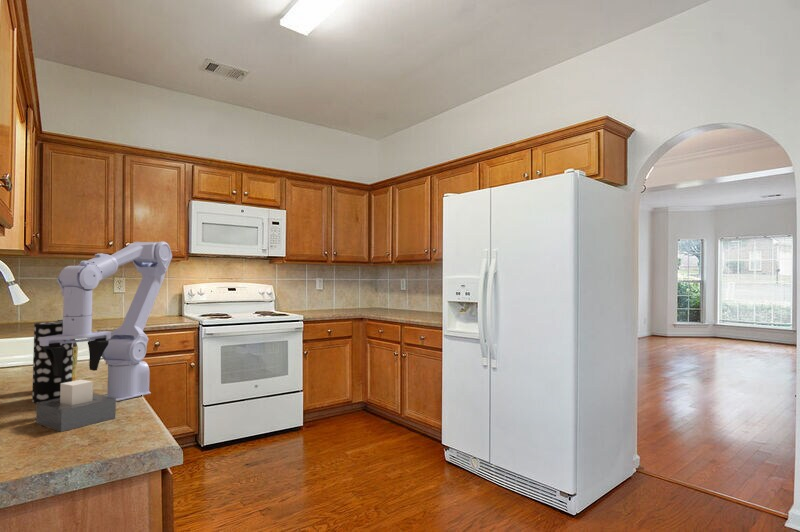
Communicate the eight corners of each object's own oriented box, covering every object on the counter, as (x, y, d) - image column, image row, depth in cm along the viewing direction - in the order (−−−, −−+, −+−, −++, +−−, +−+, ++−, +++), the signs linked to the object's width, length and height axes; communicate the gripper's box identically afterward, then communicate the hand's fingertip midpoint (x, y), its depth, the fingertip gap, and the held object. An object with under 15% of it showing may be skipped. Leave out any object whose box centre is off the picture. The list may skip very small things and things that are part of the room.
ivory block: (80, 414, 107) (81, 379, 107) (92, 416, 105) (93, 381, 105) (59, 419, 103) (60, 383, 103) (71, 422, 101) (72, 385, 101)
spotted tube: (66, 393, 127) (68, 320, 128) (76, 398, 122) (78, 322, 123) (28, 399, 121) (30, 322, 122) (37, 405, 116) (39, 325, 116)
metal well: (89, 410, 112) (90, 392, 112) (115, 418, 106) (115, 398, 106) (36, 423, 102) (36, 402, 102) (61, 431, 97) (61, 410, 97)
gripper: (100, 313, 119) (99, 366, 119) (33, 317, 106) (32, 376, 106) (116, 314, 115) (114, 369, 115) (48, 318, 103) (47, 380, 102)
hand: (76, 372), depth 110 cm, fingers open, 7 cm apart
